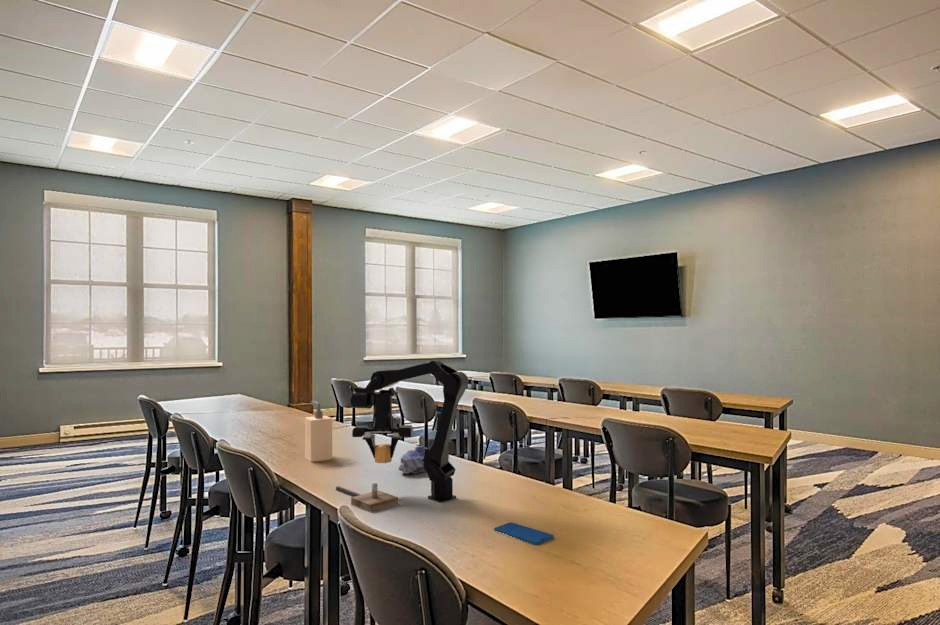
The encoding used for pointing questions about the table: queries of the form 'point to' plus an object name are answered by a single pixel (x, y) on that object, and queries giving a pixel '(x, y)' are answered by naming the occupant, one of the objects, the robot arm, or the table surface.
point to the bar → (347, 491)
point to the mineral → (413, 460)
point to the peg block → (374, 500)
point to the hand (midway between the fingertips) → (383, 458)
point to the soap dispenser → (318, 436)
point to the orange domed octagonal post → (383, 453)
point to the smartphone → (524, 533)
